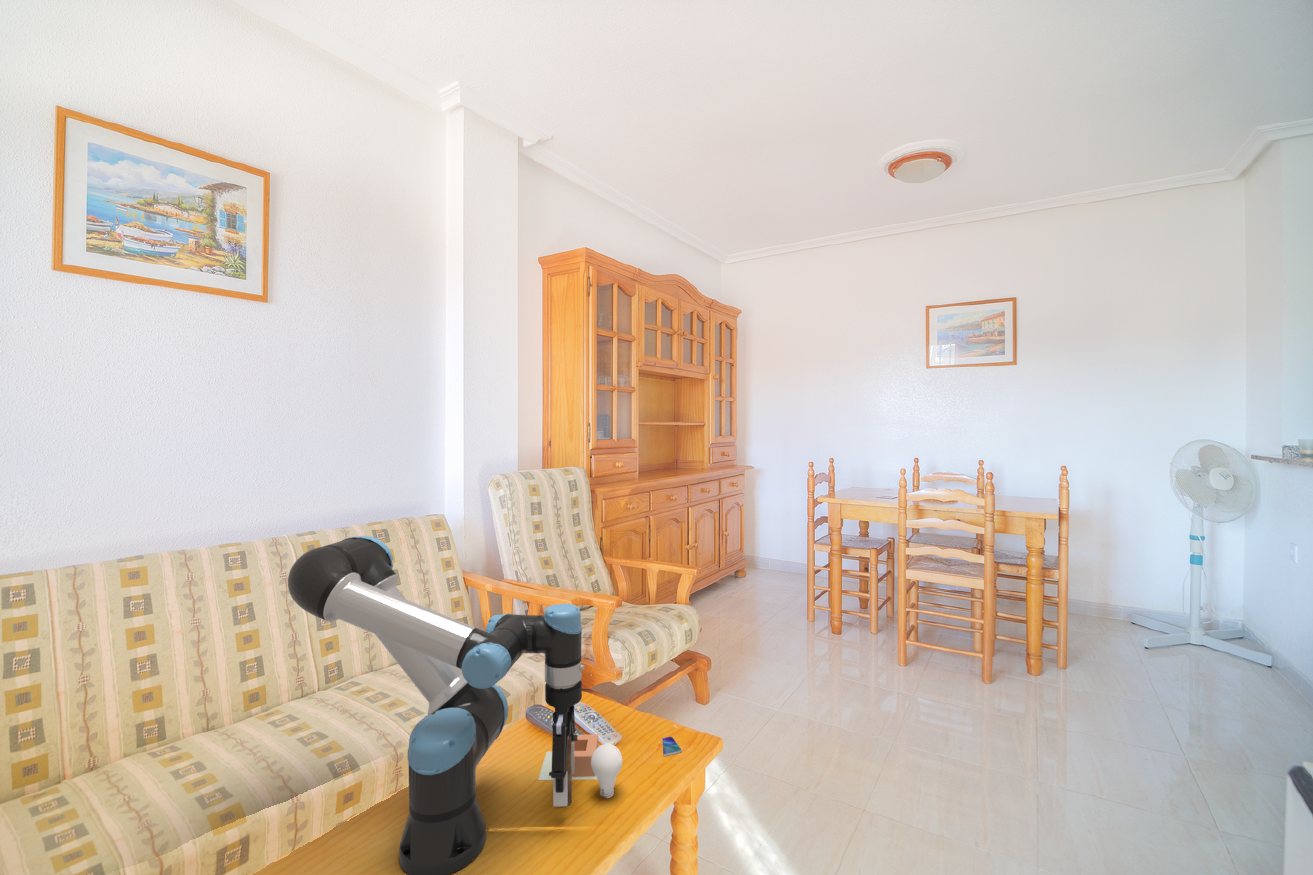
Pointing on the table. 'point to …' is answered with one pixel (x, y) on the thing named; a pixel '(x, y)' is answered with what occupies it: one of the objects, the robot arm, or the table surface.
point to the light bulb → (606, 767)
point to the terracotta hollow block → (584, 754)
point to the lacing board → (548, 768)
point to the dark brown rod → (569, 772)
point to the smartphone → (670, 746)
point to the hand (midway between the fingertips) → (564, 788)
